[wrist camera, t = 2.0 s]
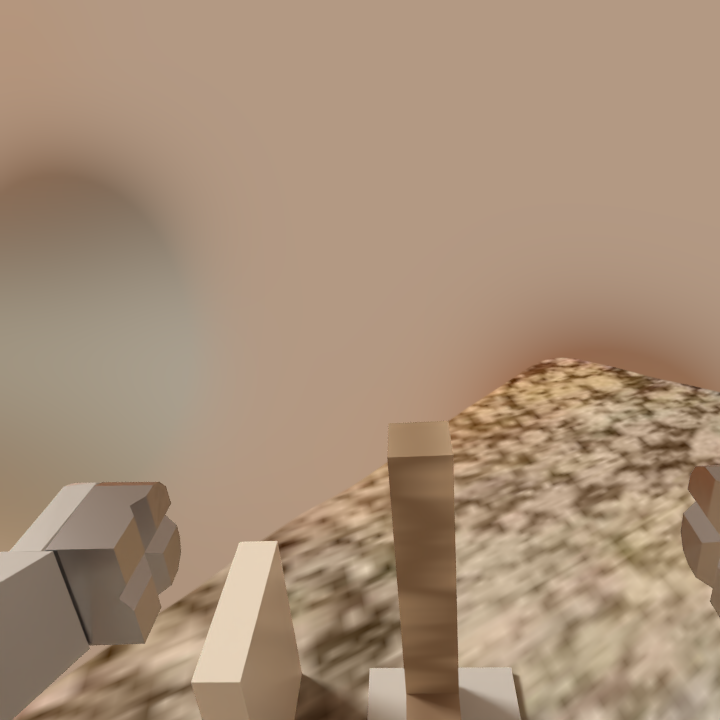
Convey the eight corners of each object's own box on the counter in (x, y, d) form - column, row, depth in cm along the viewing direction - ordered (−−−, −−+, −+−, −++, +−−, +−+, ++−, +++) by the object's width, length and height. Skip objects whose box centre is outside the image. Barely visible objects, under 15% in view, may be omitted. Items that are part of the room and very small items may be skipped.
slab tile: (301, 673, 35) (277, 540, 31) (276, 827, 28) (240, 682, 24) (265, 673, 35) (236, 542, 31) (231, 826, 28) (187, 682, 24)
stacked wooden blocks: (453, 683, 33) (445, 399, 26) (464, 801, 28) (457, 485, 20) (410, 684, 33) (389, 401, 26) (412, 801, 28) (386, 487, 20)
